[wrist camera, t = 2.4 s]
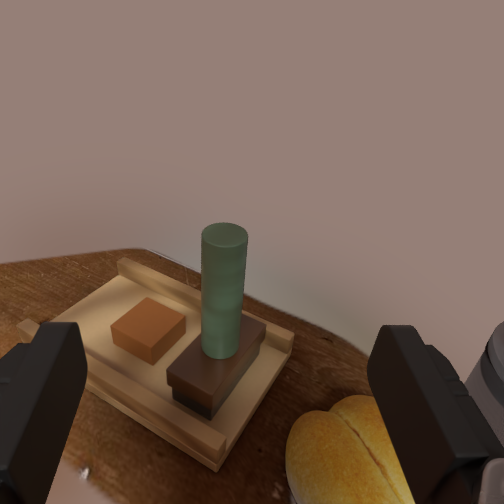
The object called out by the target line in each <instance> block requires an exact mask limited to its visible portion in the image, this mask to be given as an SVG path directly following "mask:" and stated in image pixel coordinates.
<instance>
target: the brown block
mask: <svg viewBox="0 0 504 504" xmlns="http://www.w3.org/2000/svg"><path fill="white" fill-rule="evenodd" d="M110 328H111V333H112V339H113V344H115V345H116V346H118V347H120V348H122V349H123V350H125V351H127V352H129V353H131V354H132V355H134V356H136V357H138V358H139V359H141V360H143V361H145V362H146V363H148V364H150V365H152V366H153V365H154V364H155V363H156V362H157V361H158V360H159V359H160V358H161V357H162V356H163V355H164V354H165V353H166V352H167V351H168V350H169V349H170V348H171V347H172V346H173V345H174V344H175V343H176V342H177V341H178V340H179V339H180V338H181V337H182V336H183V335H184V334H185V333H186V322H185V315H183V314H181V313H179V312H177V311H175V310H173V309H171V308H169V307H167V306H165V305H162V304H160V303H158V302H156V301H154V300H152V299H150V298H148V297H146V298H145V299H143V300H142V301H141V302H139V303H138V304H137V305H136V306H134V307H133V308H132V309H131V310H129V311H128V312H127V313H126V314H124V315H123V316H122V317H120V318H119V319H118V320H117V321H115V322H114V323H113V324H112V325H110Z"/></svg>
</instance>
